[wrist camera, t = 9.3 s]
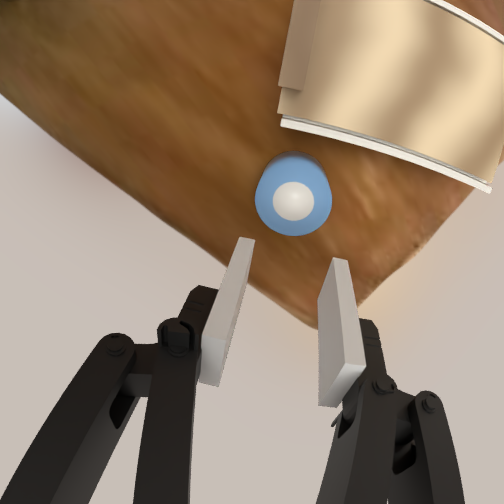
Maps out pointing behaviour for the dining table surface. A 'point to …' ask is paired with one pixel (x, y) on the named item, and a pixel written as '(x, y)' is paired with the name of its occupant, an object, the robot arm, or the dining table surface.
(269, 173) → the blue capped cylinder
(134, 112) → the dining table surface
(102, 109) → the dining table surface
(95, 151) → the dining table surface
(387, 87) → the lid
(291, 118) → the carton
